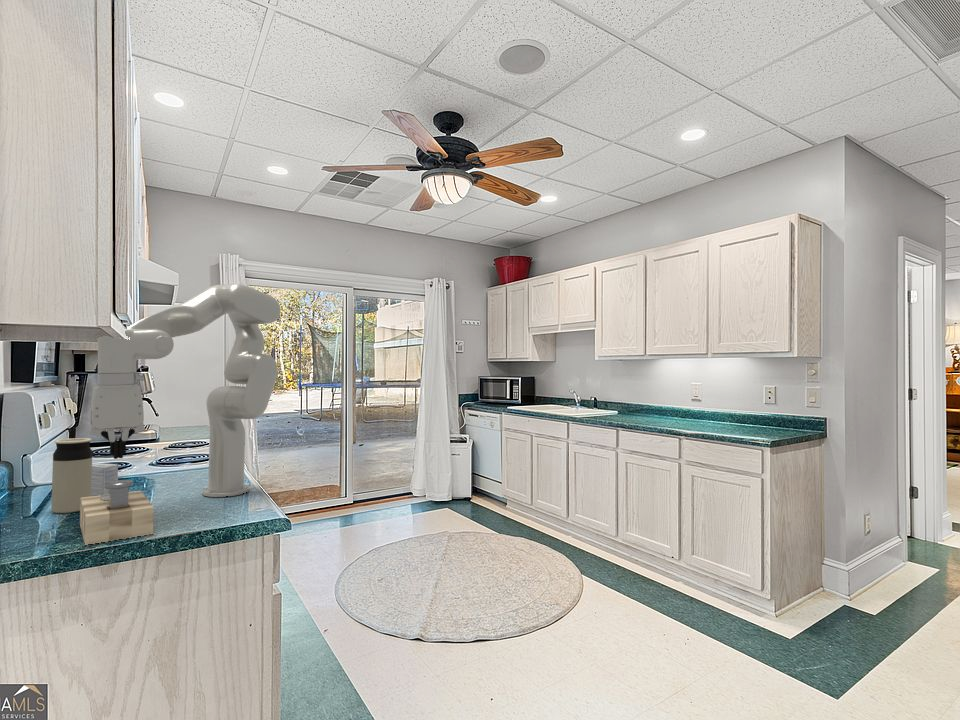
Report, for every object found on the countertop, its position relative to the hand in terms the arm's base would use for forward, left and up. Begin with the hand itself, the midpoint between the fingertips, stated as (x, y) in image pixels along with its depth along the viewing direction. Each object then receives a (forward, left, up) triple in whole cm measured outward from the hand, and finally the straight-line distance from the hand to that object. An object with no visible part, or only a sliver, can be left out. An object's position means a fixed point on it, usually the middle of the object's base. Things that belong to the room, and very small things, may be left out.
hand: (118, 457), depth 123 cm
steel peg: (0, -1, -16) cm, 15 cm away
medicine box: (-36, -1, -16) cm, 39 cm away
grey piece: (+10, -1, -11) cm, 15 cm away
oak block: (+5, -1, -15) cm, 16 cm away
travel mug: (-21, -8, -16) cm, 27 cm away
